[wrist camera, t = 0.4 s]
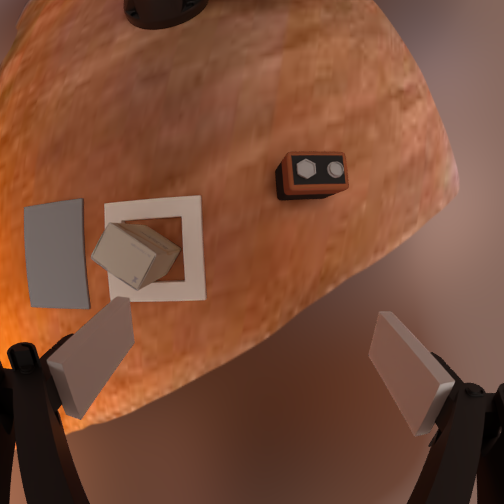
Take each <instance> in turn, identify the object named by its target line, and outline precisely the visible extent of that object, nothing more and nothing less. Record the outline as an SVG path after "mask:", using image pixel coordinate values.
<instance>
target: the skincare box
mask: <svg viewBox="0 0 504 504" xmlns="http://www.w3.org/2000/svg"><path fill="white" fill-rule="evenodd" d="M180 251H181V248H180V247H178V246H177V245H175V244H174V243H172V242H171V241H170V240H168V239H167V238H165V237H164V236H162V235H160V234H159V233H157V232H156V231H154V230H153V229H151V228H150V227H148V226H146V225H138V224H124V223H111V222H109V223H108V225H107V227H106V228H105V230H104V232H103V234H102V236H101V237H100V239H99V241H98V243H97V245H96V247H95V249H94V251H93V253H92V255H91V259H92V260H93V261H95V262H96V263H97V264H99V265H100V266H101V267H103V268H104V269H105V270H107V271H108V272H109V273H111V274H112V275H113V276H115V277H116V278H118V279H119V280H121V281H122V282H124V283H125V284H127V285H128V286H130V287H131V288H133V289H134V290H136V291H138V290H140V289H142V288H144V287H145V286H147V285H149V284H151V283H152V282H154V281H156V280H158V279H159V278H161V277H163V276H165V275H166V274H167V273H168V271H169V270H170V268H171V266H172V265H173V263H174V261H175V260H176V258H177V256H178V254H179V252H180Z"/></svg>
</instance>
